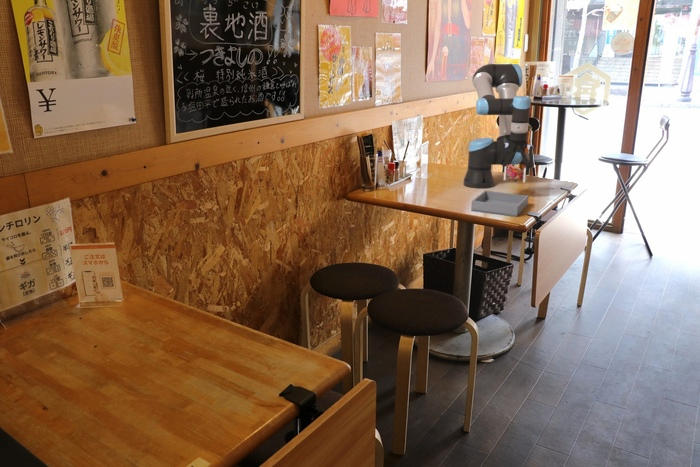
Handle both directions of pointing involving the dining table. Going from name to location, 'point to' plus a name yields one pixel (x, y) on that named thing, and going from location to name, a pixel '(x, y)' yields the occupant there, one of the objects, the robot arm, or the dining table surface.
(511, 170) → the flower
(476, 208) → the bin
